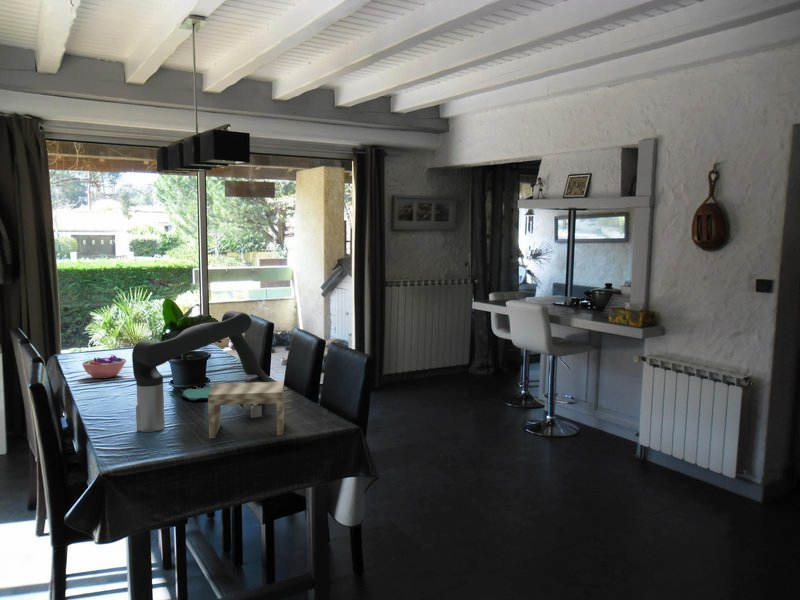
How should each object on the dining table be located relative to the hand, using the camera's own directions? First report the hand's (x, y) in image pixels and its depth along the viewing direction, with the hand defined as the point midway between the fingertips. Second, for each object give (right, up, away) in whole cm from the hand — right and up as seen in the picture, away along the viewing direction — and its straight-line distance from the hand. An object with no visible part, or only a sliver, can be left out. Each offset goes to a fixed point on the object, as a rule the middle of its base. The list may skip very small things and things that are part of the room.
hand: (250, 404), depth 242 cm
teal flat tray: (-32, -2, +39) cm, 51 cm away
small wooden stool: (+2, -8, -12) cm, 14 cm away
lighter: (0, -6, +3) cm, 7 cm away
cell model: (-90, +2, +69) cm, 114 cm away
